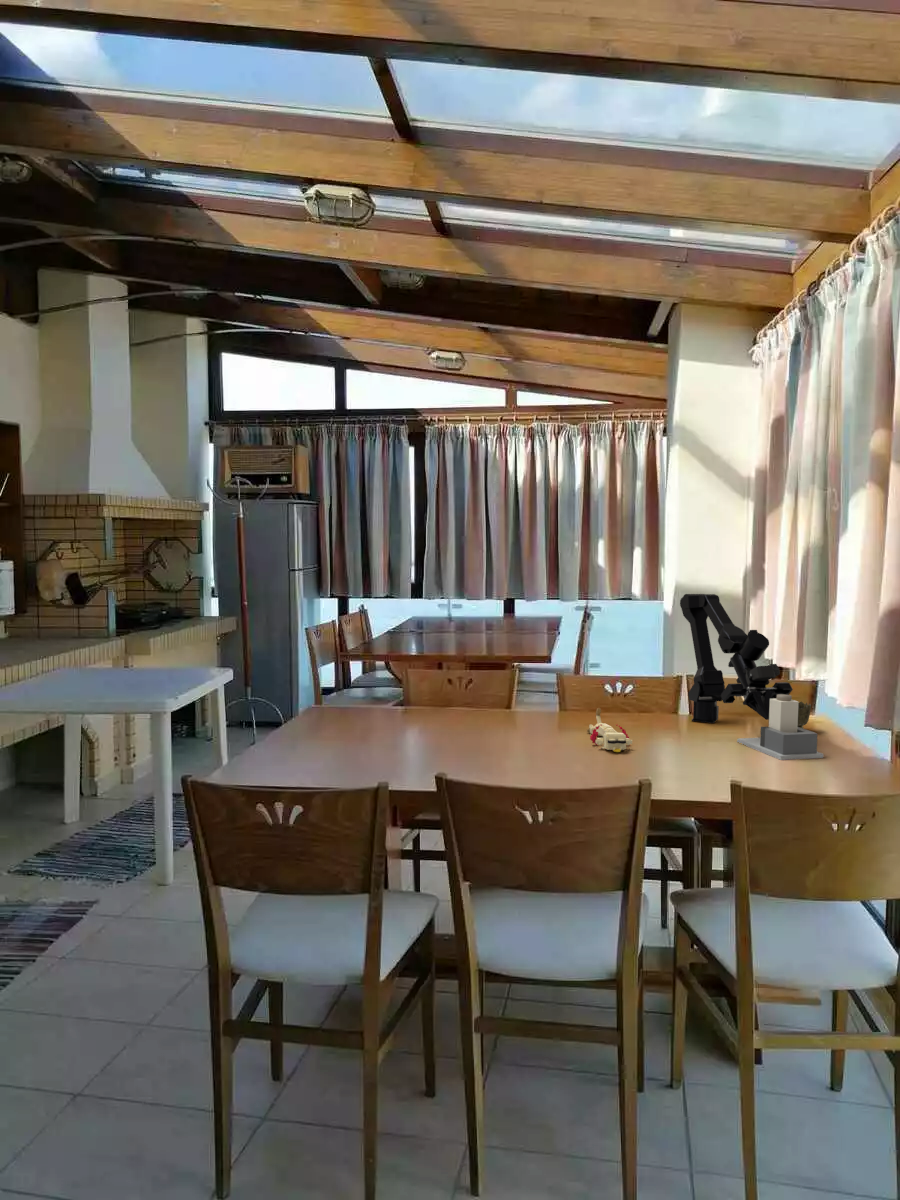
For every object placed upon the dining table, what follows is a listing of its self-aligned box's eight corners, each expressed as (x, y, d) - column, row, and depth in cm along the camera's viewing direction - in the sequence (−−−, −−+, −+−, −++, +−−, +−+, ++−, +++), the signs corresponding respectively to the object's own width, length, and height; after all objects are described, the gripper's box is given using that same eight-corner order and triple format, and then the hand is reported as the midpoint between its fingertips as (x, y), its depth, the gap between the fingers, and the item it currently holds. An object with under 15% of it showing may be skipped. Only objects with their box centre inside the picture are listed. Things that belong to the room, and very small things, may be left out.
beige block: (768, 744, 235) (769, 694, 234) (785, 743, 236) (787, 693, 235) (779, 748, 230) (781, 697, 229) (796, 747, 231) (798, 696, 230)
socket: (737, 742, 243) (737, 720, 243) (776, 740, 246) (777, 718, 245) (780, 759, 224) (781, 735, 223) (823, 757, 226) (824, 734, 226)
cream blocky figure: (579, 738, 252) (598, 752, 227) (579, 707, 252) (598, 717, 227) (614, 738, 253) (637, 752, 228) (614, 707, 253) (637, 717, 228)
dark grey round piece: (806, 728, 263) (807, 701, 262) (813, 733, 255) (814, 705, 255) (779, 727, 263) (780, 700, 263) (786, 732, 256) (787, 705, 255)
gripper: (728, 654, 241) (749, 702, 231) (790, 652, 245) (813, 700, 235) (712, 678, 249) (731, 726, 239) (772, 676, 254) (794, 724, 244)
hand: (768, 718), depth 239 cm, fingers closed
